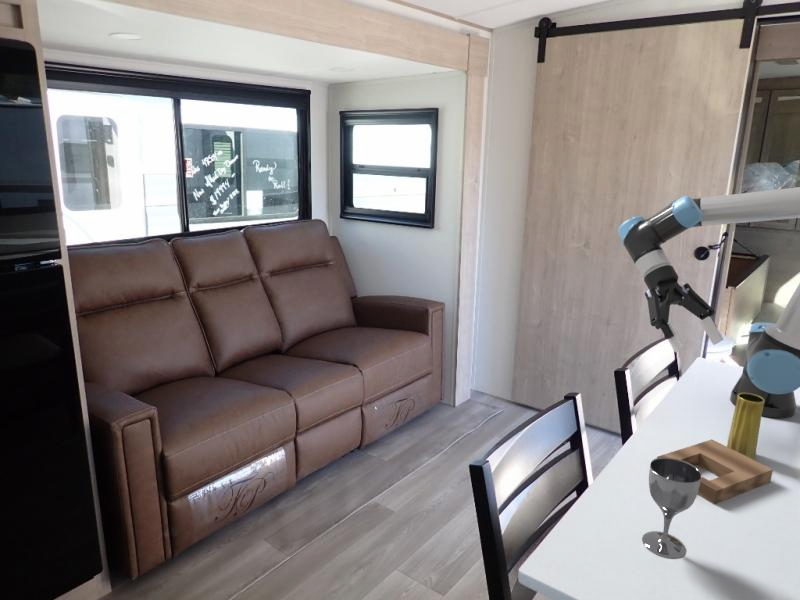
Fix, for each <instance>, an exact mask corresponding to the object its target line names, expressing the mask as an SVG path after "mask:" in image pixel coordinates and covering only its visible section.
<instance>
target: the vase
mask: <svg viewBox="0 0 800 600" xmlns="http://www.w3.org/2000/svg"><path fill="white" fill-rule="evenodd" d="M764 402H765V400H764V399H763V398H762V397H760V396H758V395H755V394H751V393H739V394H738V396H737V401H736V406H735V405H734V406H735V407H734V411H733V416H732V420H731V424H730V428H729V429H730V430H729V434H728V437H727V443H726V444H727V445H726V447H728V448H730V449H733V450H735V451H737V452H739V453H741V454H743V455H745V456H747V457H749V458H751V459H753V460H755V459H756V457H757V456H756V455H757V447H758V442H759V441H758V439H759V434H760V427H761V420H762V417H763V416H762V411H763V407H764Z"/></svg>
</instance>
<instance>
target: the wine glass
mask: <svg viewBox="0 0 800 600" xmlns="http://www.w3.org/2000/svg"><path fill="white" fill-rule="evenodd" d="M648 470H649V473H648V486H649V487H648V488H649V492H650V496H651V498H652V499H653V501H654V502H655V504H656V505H657V506H658V508H659V509H660V510H661V512H662V515H663V531H658V530H656V531H655V530H654V531H653V530H652V531H648V532H646V533H644V534H643V535H642V538H641V541H642V544H643V546H644V547H645V548H646V549H647V550H648V551H649V552H651V553H653V554H655V555H657V556H658V557H662V558H664V559H665V558H666V559H672V560H673V559H680V558H682V557H684V556H685V555H686V553H687V548H686V546H685V544H684V542H683V541H681V540H680V539H679V538H677V537H676V536H675V535H672V534H671V533H669V529H670V527H671V522H672V520H673V519H674V517H676V515H678V514H680V513H683V512H685V511H686V510H688V509H689V508H691V507H692V506H693V504H694V503H695V501H696V499H697V497H698V491H699V488H700V484H701V476H702V472H701V471H700V469H698V468H697V466H693V465H692V464H690V463H688V462H685V461H683V460H680V459H676V458H669V457H661V458H657V457H656V458H654V459H652V460H651V462H650V465H649V469H648ZM702 477H703V476H702Z"/></svg>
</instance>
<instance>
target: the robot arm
mask: <svg viewBox="0 0 800 600" xmlns="http://www.w3.org/2000/svg"><path fill="white" fill-rule="evenodd" d="M790 219H800V186H798V187H791V188H790V187H788V188H780V189H772V190H771V189H770V190H761V191H752V192H751V191H750V192H743V193H734V194H726V195H715V196H707V197H700V198H692V197H691V196H689V195H684V196H682V197H681V198H679V199H676V200H674V201H671V202H670V203H669V204H668V205H667V206H666V207H664V208H662V209H661V210H660V211H658V212H656V213H654V215H652V216H650V217H648V218H644V216H642V215H641V216H639V215H638V216H633V217H632V218H629V219H626V220H625V221H623V223H621V224H620V226H619V227H618V230H617V231H618V236H619V238H620V240H621V242H622V245H623V246H624V247H625V250H626V251H627V252H628V255H629V256H630V258H631V260H632V261H633V263H634V265H635V266H636V268H637V270H638V272H639V274H640V275H641V277H642V278H643V281H644V283H645V285H646V286H647V288H648V290H646V291H645V292H644V296H645V298H646V300H647V307H648V308H647V309H648V316H649V320H650V321H649V322H650V325H651V327H654V328H655V329H656V330H660V329H661V331H662V334H663V335H664V337H665V338H666V339H667V340H668V342H669V344H670V346H671V347H672V350H673V351H674V353H678V352H679V351H681V350H683V349H685V348H686V345H685V343H684V342H683V340H682V339H681V336H680V334H679V333H678V331H677V329H676V328H675V325H674V324H673V323H672V322H669V319H670V318H669V317H670V307H671V305H675V306H676V305H677V306H680V307H683V308H685V309H686V310H687V311H688V312H690V313H691V314H693V315H694V316H695V317H697V318H698V319H699V320H700V321H699V323H700V325H701V326H702V328H703V330H704V331H705V333H706V335H707V337H708V339H709V340H710V342H711V344H712V345H714V346H715V345H716V344H719V343H720V342H722V341H724V340H725V339H724V338H723V336H722V334H721V333H720V330H719V329H718V327H717V324H716V323H715V321H714V319H713V318H712V316H714V314H715V313H716V311H715V309H714V308H713V307H711V305H709V304H708V303H707V302H706V301H705V300H704V299H703V298H702V297H701V296H700V295H699V294H698V293H696V291H695V290H694V289H693V288H692V286H691V285H690V284H689V283H687V282H686V283H684V284H683V285H680V284H679V283H678V280H679V275H678V273H677V272H676V270H675V268H674V267H673V265H671V261H670V260H669V257H668V256H667V255H666V253H665V251H664V250H663V248H662V246H661V245H662V244H665V243H666V242H668V241H669V240H672V239H673V238H675V237H677V236H678V235H681V234H682V233H684V232H685V231H687V230H688V229H690V228H696V227H697V228H699V227H707V226H718V225H731V224H742V223H755V222H765V221H766V222H767V221H777V220H779V221H780V220H790ZM748 334H749V335H748V340H747V346H746V352H745V356H744V360H743V361H744V362H743V367H742V373H741V375H740V377H739V378H738V380H737V382H736V383H735V385H734V386H733V388H732V389H731V391H730V396H729V397H730V398H729V400H730V402H731V404H732V405H734V406H736V401H737V396H738V394H739V393H751V394H755V395H758V396H760V397H762V398H763V399H764V400H765V402H764V407H763V411H762V416H761V417H766V418H767V417H768V418H774V419H775V418H776V419H778V418H779V419H783V418H790V417H792V416H794V415H795V413H796V408H797V401H796V396H795V391H796V390H798V389H800V282H799V284H798V285H797V287H796V289H795V291H793V293H792V295H791V298H790V299H789V301H788V302H787V304H786V305H785V308H784V310H783V311H782V313H781V314H780V316H779V318H778V319H777V321H776V322H775V323H774V322H773V323H771V322H754V323H752V324H751V325H750V329H749V331H748Z"/></svg>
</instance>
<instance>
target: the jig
mask: <svg viewBox="0 0 800 600" xmlns="http://www.w3.org/2000/svg"><path fill="white" fill-rule="evenodd" d="M661 457H669V458H676V459H680V460H683V461H685V462H688V463H690V464H692V465H693V466H695V467H697V466H699V467H701V468H703V469H704V470H707V472H708V471H709V472H710V473H712V474H713V475H715V476H717V477H716V478H712V479H710V480H709V479H707V478H706V477H703V476H701V484H700V488H699V491H698V494H697V496H699V497H701V498H703V499H705V500H706V501H708V502H709V503H712V504H713V505H715V504H719V503H720V502H722V501H726V500H728V499H730V498H734V497H736V496H738V495H742V494H743V493H746V492H748V491H751V490H754V489H757V488H758V487H762V486H764V485H766V484H768V483H771V482H772V475H773V471H774V469H772V468H770V467H768V466H767V465H764V464H763V463H760V462H758V461H756V460H755V459H754V460H753V459H751V458H749V457H747V456H745V455H743V454H741V453H739V452H737V451H735V450H733V449H730V448H728V447H727V445H724V444H723V443H720V442H718V441H716V440H714V439H709V440H705V441H702V442H699V443H695V444H693V445H690V446H687V447H683V448H680V449H677V450H674V451H670V452H668V453H664V454H661V455H658V456H656V458H661Z"/></svg>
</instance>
